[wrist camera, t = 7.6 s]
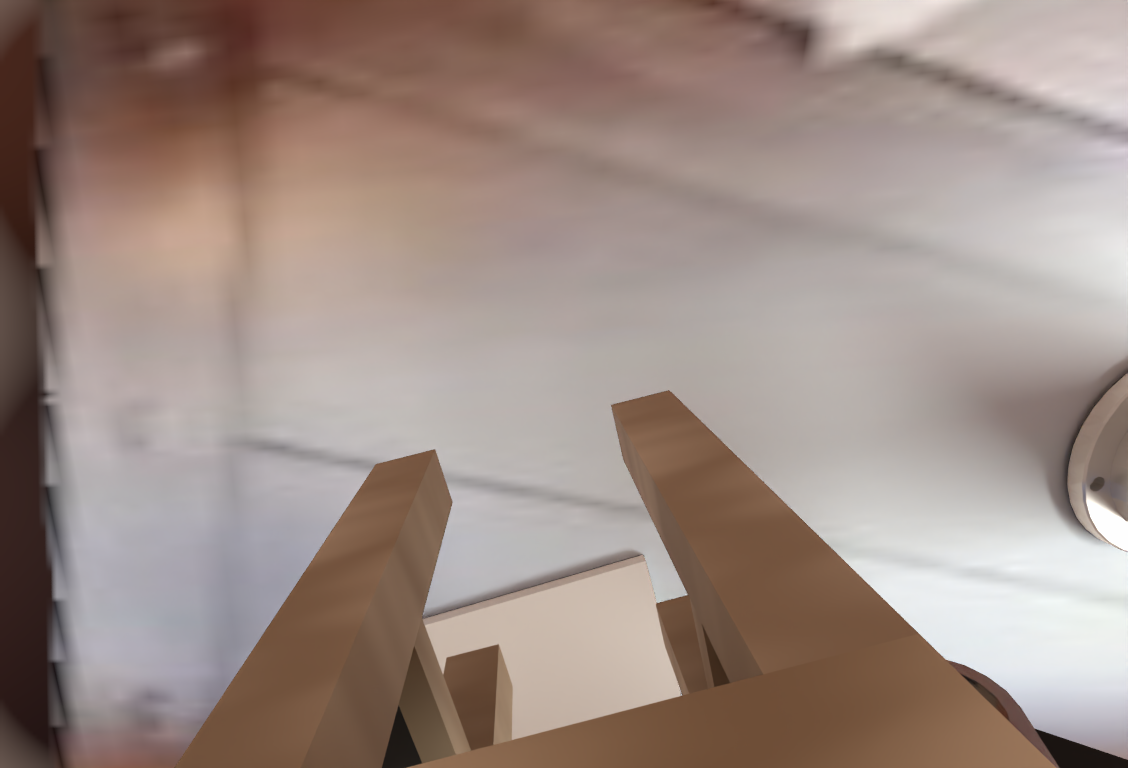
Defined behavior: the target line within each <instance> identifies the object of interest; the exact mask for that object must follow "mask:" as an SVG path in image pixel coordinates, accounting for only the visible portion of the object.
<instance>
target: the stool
mask: <svg viewBox="0 0 1128 768" xmlns="http://www.w3.org/2000/svg"><path fill="white" fill-rule="evenodd" d="M611 407H612V412H613V416H614V421H615V425H616V430H617V434H618V438H619V443H620V447H621V452H622V456H623V460H624V462H625V464H626V466H627V468H628V470H629V472H630V475H631V477H632V479H633V481H634V483H635V485H636V487H637V489H638V491H639V493H640V495H641V497H642V500H643V502H644V504H645V506H646V508H647V510H648V512H649V514H650V516H651V518H652V520H653V523H654V525H655V527H656V529H657V531H658V533H659V535H660V537H661V539H662V541H663V543H664V546H665V548H666V550H667V552H668V554H669V556H670V558H671V560H672V562H673V564H674V566H675V568H676V571H677V573H678V575H679V577H680V579H681V581H682V583H683V585H684V587H685V589H686V591H687V594H688V595H687V596H683V597H679V598H675V599H671V600H667V601H664V602H660V603H656V609H657V613H658V618H659V622H660V626H661V631H662V635H663V640H664V644H665V648H666V651H667V654H668V656H669V659H670V662H671V665H672V668H673V670H674V673H675V676H676V679H677V681H678V684H679V687H680V690H681V693H682V695H683V696H679V697H675V698H671V699H667V700H663V701H660V702H656V703H652V704H648V705H644V706H641V707H637V708H633V709H629V710H625V711H621V712H618V713H614V714H610V715H606V716H602V717H598V718H595V719H591V720H587V721H583V722H579V723H575V724H572V725H568V726H564V727H560V728H556V729H553V730H549V731H545V732H541V733H537V734H533V735H530V736H526V737H522V738H518V739H514V740H512V701H513V685H512V682H511V679H510V676H509V673H508V670H507V667H506V664H505V661H504V658H503V655H502V652H501V649H500V646H499V644H497V645H493V646H489V647H486V648H482V649H478V650H474V651H470V652H466V653H462V654H458V655H455V656H451V657H447V658H446V663H445V668H444V674H443V673H442V671H441V668H440V665H439V663H438V660H437V657H436V654H435V652H434V649H433V646H432V644H431V641H430V638H429V636H428V633H427V630H426V628H425V625H424V622H423V619H422V615H423V611H424V607H425V603H426V600H427V596H428V592H429V588H430V585H431V581H432V577H433V573H434V570H435V566H436V562H437V558H438V555H439V551H440V547H441V543H442V540H443V536H444V532H445V528H446V525H447V521H448V517H449V513H450V510H451V506H452V499H451V496H450V493H449V490H448V487H447V484H446V481H445V478H444V475H443V472H442V469H441V466H440V463H439V460H438V457H437V454H436V451H435V449H434V450H430V451H426V452H422V453H418V454H414V455H410V456H407V457H403V458H399V459H395V460H391V461H387V462H383V463H379V464H376V465H375V466H374V468H373V469H372V471H371V472H370V474H369V475H368V477H367V478H366V480H365V481H364V483H363V484H362V486H361V488H360V489H359V491H358V492H357V494H356V495H355V497H354V498H353V500H352V501H351V503H350V504H349V506H348V507H347V509H346V510H345V512H344V513H343V515H342V516H341V518H340V519H339V521H338V522H337V524H336V525H335V527H334V528H333V530H332V531H331V533H330V534H329V536H328V537H327V539H326V540H325V542H324V543H323V545H322V546H321V548H320V549H319V551H318V552H317V554H316V555H315V557H314V558H313V560H312V561H311V563H310V564H309V566H308V567H307V569H306V570H305V572H304V573H303V575H302V576H301V578H300V579H299V581H298V582H297V584H296V586H295V587H294V589H293V590H292V592H291V593H290V595H289V596H288V598H287V599H286V601H285V602H284V604H283V605H282V607H281V608H280V610H279V611H278V613H277V614H276V616H275V617H274V619H273V620H272V622H271V623H270V625H269V626H268V628H267V629H266V631H265V632H264V634H263V635H262V637H261V638H260V640H259V641H258V643H257V644H256V646H255V647H254V649H253V650H252V652H251V653H250V655H249V656H248V658H247V659H246V661H245V662H244V664H243V665H242V667H241V668H240V670H239V671H238V673H237V674H236V676H235V677H234V679H233V681H232V682H231V684H230V685H229V687H228V688H227V690H226V691H225V693H224V694H223V696H222V697H221V699H220V700H219V702H218V703H217V705H216V706H215V708H214V709H213V711H212V712H211V714H210V715H209V717H208V718H207V720H206V721H205V723H204V724H203V726H202V727H201V729H200V730H199V732H198V733H197V735H196V736H195V738H194V739H193V741H192V742H191V744H190V745H189V747H188V748H187V750H186V751H185V753H184V754H183V756H182V757H181V759H180V760H179V762H178V763H177V765H176V766H175V768H382V765H383V761H384V757H385V753H386V750H387V746H388V742H389V738H390V735H391V731H392V727H393V723H394V720H395V716H396V712H397V708H398V705H399V707H400V710H401V712H402V715H403V717H404V720H405V722H406V725H407V727H408V729H409V732H410V734H411V737H412V739H413V742H414V744H415V747H416V749H417V752H418V754H419V756H420V759H421V761H422V764H419V765H415V766H411V767H407V768H1056V767H1055V766H1054V765H1053V764H1052V763H1051V762H1050V761H1049V760H1048V759H1047V758H1046V757H1045V756H1044V755H1043V754H1042V753H1041V752H1040V751H1039V750H1038V749H1037V748H1036V747H1035V746H1034V745H1033V744H1031V743H1030V742H1029V741H1028V740H1027V739H1026V738H1025V737H1024V736H1023V735H1022V734H1021V733H1020V732H1019V731H1018V730H1017V729H1016V728H1015V727H1014V726H1013V725H1012V724H1011V723H1010V722H1009V721H1008V720H1007V719H1006V718H1005V717H1004V716H1003V715H1002V714H1001V713H1000V712H999V711H998V710H997V709H996V708H995V707H994V706H993V705H991V704H990V703H989V702H988V701H987V700H986V699H985V698H984V697H983V696H982V695H981V694H980V693H979V692H978V691H977V690H976V689H975V688H974V687H973V686H972V685H971V684H970V683H969V682H968V681H967V680H966V679H965V678H964V677H963V676H962V675H961V674H960V673H959V672H958V671H957V670H956V669H955V668H954V667H953V666H951V665H950V664H949V663H948V662H947V661H946V660H945V659H944V658H943V657H942V656H941V655H940V654H939V653H938V652H937V651H936V650H935V649H934V648H933V647H932V646H931V645H930V644H929V643H928V642H927V641H926V640H925V639H924V638H923V637H922V636H921V635H920V634H919V633H918V632H917V631H916V630H915V629H914V628H913V627H911V626H910V625H909V624H908V623H907V622H906V621H905V620H904V619H903V618H902V617H901V616H900V615H899V614H898V613H897V612H896V611H895V610H894V609H893V608H892V607H891V606H890V605H889V604H888V603H887V602H886V601H885V600H884V599H883V598H882V597H881V596H880V595H879V594H878V593H877V592H876V591H875V590H874V589H873V588H871V587H870V586H869V585H868V584H867V583H866V582H865V581H864V580H863V579H862V578H861V577H860V576H859V575H858V574H857V573H856V572H855V571H854V570H853V569H852V568H851V567H850V566H849V565H848V564H847V563H846V562H845V561H844V560H843V559H842V558H841V557H840V556H839V555H838V554H837V553H836V552H835V551H834V550H833V549H831V548H830V547H829V546H828V545H827V544H826V543H825V542H824V541H823V540H822V539H821V538H820V537H819V536H818V535H817V534H816V533H815V532H814V531H813V530H812V529H811V528H810V527H809V526H808V525H807V524H806V523H805V522H804V521H803V520H802V519H801V518H800V517H799V516H798V515H797V514H796V513H795V512H794V511H793V510H792V509H790V508H789V507H788V506H787V505H786V504H785V503H784V502H783V501H782V500H781V499H780V498H779V497H778V496H777V495H776V494H775V493H774V492H773V491H772V490H771V489H770V488H769V487H768V486H767V485H766V484H765V483H764V482H763V481H762V480H761V479H760V478H759V477H758V476H757V475H756V474H755V473H754V472H753V471H752V470H750V469H749V468H748V467H747V466H746V465H745V464H744V463H743V462H742V461H741V460H740V459H739V458H738V457H737V456H736V455H735V454H734V453H733V452H732V451H731V450H730V449H729V448H728V447H727V446H726V445H725V444H724V443H723V442H722V441H721V440H720V439H719V438H718V437H717V436H716V435H715V434H714V433H713V432H712V431H710V430H709V429H708V428H707V427H706V426H705V425H704V424H703V423H702V422H701V421H700V420H699V419H698V418H697V417H696V416H695V415H694V414H693V413H692V412H691V411H690V410H689V409H688V408H687V407H686V406H685V405H684V404H683V403H682V402H681V401H680V400H679V399H678V398H677V397H676V396H675V395H674V394H673V393H672V392H670V391H669V390H668V391H664V392H661V393H657V394H653V395H649V396H645V397H641V398H637V399H633V400H629V401H625V402H621V403H617V404H613V405H611Z"/></svg>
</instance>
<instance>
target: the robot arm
mask: <svg viewBox="0 0 1128 768" xmlns="http://www.w3.org/2000/svg"><path fill="white" fill-rule="evenodd" d="M1067 485H1068V491H1069V497H1070V503H1071V505H1072V508H1073V510H1074V512H1075V515H1076V517H1077V518H1078V520H1079V521H1080V522H1081V524H1082V525H1083V526H1084V527H1085V529H1086V530H1087V531H1089V532H1090V533H1091V534H1093V535H1094V536H1095V537H1097V538H1098V539H1100V540H1102V541H1104V542H1106V543H1108V544H1110V545H1112V546H1114V547H1116V548H1118V549H1120V550H1123V551H1126V552H1128V373H1127V374H1126V375H1124V376H1123V377H1122V378H1121V379H1120V380H1119V381H1118V382H1117V383H1116V384H1115V385H1113V386H1112V387H1111V388H1110V389H1109V390H1108V391H1107V392H1106V393H1105V394H1104V396H1103V397H1102V398H1101V399H1100V400H1099V402H1098V403H1097V404H1096V405H1095V406H1094V408H1093V409H1092V411H1091V412H1090V414H1089V416H1088V417H1087V419H1086V420H1085V422H1084V424H1083V425H1082V427H1081V429H1080V431H1079V434H1078V436H1077V438H1076V441H1075V443H1074V445H1073V449H1072V453H1071V457H1070V461H1069V465H1068V483H1067ZM946 661H947V662H948V663H949V664H950V665H951V666H953V667H954V668H955V669H956V670H957V671H958V672H959V673H960V674H961V675H962V676H963V677H964V678H965V679H966V680H967V681H968V682H969V683H970V684H971V685H972V686H973V687H974V688H975V689H976V690H977V691H978V692H979V693H980V694H981V695H982V696H983V697H984V698H985V699H986V700H987V701H988V702H989V703H990V704H991V705H993V706H994V707H995V708H996V709H997V710H998V711H999V712H1000V713H1001V714H1002V715H1003V716H1004V717H1005V718H1006V719H1007V720H1008V721H1009V722H1010V723H1011V724H1012V725H1013V726H1014V727H1015V728H1016V729H1017V730H1018V731H1019V732H1020V733H1021V734H1022V735H1023V736H1024V737H1025V738H1026V739H1027V740H1028V741H1029V742H1030V743H1031V744H1033V745H1034V746H1035V747H1036V748H1037V749H1038V750H1039V751H1040V752H1041V753H1042V754H1043V755H1044V756H1045V757H1046V758H1047V759H1048V760H1049V761H1050V762H1051V763H1052V764H1053V765H1054V766H1055V767H1056V768H1128V760H1126V759H1123V758H1120V757H1117V756H1114V755H1111V754H1108V753H1105V752H1102V751H1099V750H1096V749H1093V748H1091V747H1088V746H1085V745H1082V744H1079V743H1076V742H1073V741H1070V740H1067V739H1064V738H1061V737H1058V736H1055V735H1052V734H1049V733H1046V732H1043V731H1040V730H1037V729H1034V727H1033V726H1032V724H1031V723H1030V721H1029V720H1028V718H1027V717H1026V715H1025V713H1024V712H1023V710H1022V709H1021V707H1020V706H1019V705H1018V704H1017V703H1016V702H1015V700H1014V699H1013V698H1012V697H1011V696H1010V695H1009V693H1008V692H1007V691H1006V690H1004V689H1003V688H1002V687H1000V686H999V685H998V684H996V683H995V682H994V681H992V680H991V679H990V678H988V677H987V676H985V675H983V674H981V673H979V672H977V671H975V670H973V669H971V668H969V667H967V666H965V665H962V664H958V663H955V662H951V661H948V660H946ZM419 764H422V761H421V759H420V756H419V754H418V752H417V749H416V747H415V744H414V742H413V739H412V737H411V734H410V732H409V729H408V727H407V725H406V722H405V720H404V717H403V715H402V712H401V710H400V707H399V705H398V708H397V712H396V716H395V720H394V723H393V727H392V731H391V735H390V738H389V742H388V746H387V750H386V753H385V757H384V761H383V765H382V768H407V767H411V766H415V765H419Z"/></svg>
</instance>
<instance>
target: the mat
mask: <svg viewBox="0 0 1128 768" xmlns="http://www.w3.org/2000/svg"><path fill="white" fill-rule="evenodd" d="M656 603H657V602H656V598H655V594H654V591H653V587H652V583H651V579H650V575H649V572H648V568H647V564H646V560H645V558H644V556H643V555H640V556H637V557H633V558H630V559H627V560H623V561H620V562H616V563H613V564H609V565H606V566H603V567H599V568H596V569H592V570H589V571H585V572H582V573H579V574H575V575H572V576H568V577H565V578H561V579H558V580H555V581H551V582H548V583H544V584H541V585H538V586H534V587H531V588H527V589H524V590H520V591H517V592H514V593H510V594H507V595H503V596H500V597H496V598H493V599H490V600H486V601H483V602H479V603H476V604H472V605H469V606H466V607H462V608H459V609H455V610H452V611H448V612H445V613H442V614H438V615H435V616H431V617H428V618H424V619H423V622H424V625H425V628H426V630H427V633H428V636H429V638H430V641H431V644H432V646H433V649H434V652H435V654H436V657H437V660H438V663H439V665H440V668H441V671H442V673H443V674H444V668H445V663H446V658H447V657H451V656H455V655H458V654H462V653H466V652H470V651H474V650H478V649H482V648H486V647H489V646H493V645H497V644H499V646H500V649H501V652H502V655H503V658H504V661H505V664H506V667H507V670H508V673H509V676H510V679H511V682H512V685H513V701H512V740H514V739H518V738H522V737H526V736H530V735H533V734H537V733H541V732H545V731H549V730H553V729H556V728H560V727H564V726H568V725H572V724H575V723H579V722H583V721H587V720H591V719H595V718H598V717H602V716H606V715H610V714H614V713H618V712H621V711H625V710H629V709H633V708H637V707H641V706H644V705H648V704H652V703H656V702H660V701H663V700H667V699H671V698H675V697H679V696H681V693H680V689H679V686H678V682H677V679H676V676H675V673H674V670H673V668H672V665H671V662H670V659H669V656H668V654H667V651H666V648H665V644H664V640H663V635H662V631H661V626H660V622H659V618H658V613H657V609H656Z"/></svg>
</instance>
